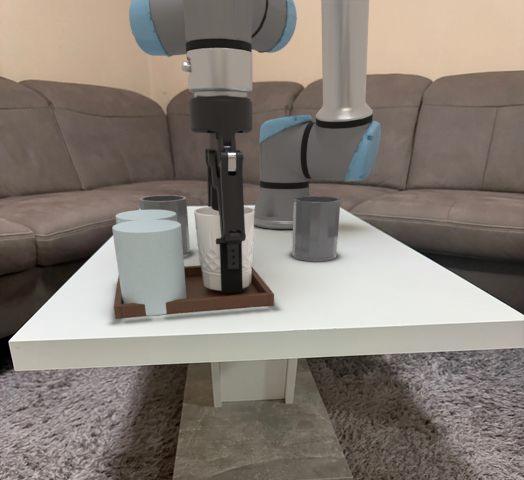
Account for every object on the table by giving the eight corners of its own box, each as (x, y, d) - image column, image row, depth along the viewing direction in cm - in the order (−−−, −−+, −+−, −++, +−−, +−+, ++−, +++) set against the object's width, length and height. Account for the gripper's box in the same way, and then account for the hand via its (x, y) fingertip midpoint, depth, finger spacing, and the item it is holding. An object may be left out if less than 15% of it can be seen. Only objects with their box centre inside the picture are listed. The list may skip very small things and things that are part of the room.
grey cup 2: (326, 249, 88) (330, 195, 83) (343, 260, 81) (347, 201, 76) (287, 251, 86) (288, 196, 82) (300, 262, 79) (302, 203, 75)
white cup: (247, 294, 60) (246, 216, 55) (190, 290, 61) (185, 214, 57) (260, 277, 67) (260, 206, 62) (208, 274, 68) (205, 204, 64)
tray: (248, 275, 72) (248, 262, 71) (274, 309, 59) (274, 293, 58) (121, 284, 68) (119, 270, 67) (116, 323, 55) (113, 306, 54)
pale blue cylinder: (184, 292, 63) (178, 218, 59) (189, 312, 56) (183, 230, 52) (124, 296, 61) (113, 220, 57) (122, 318, 54) (110, 233, 50)
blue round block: (179, 275, 70) (174, 208, 66) (184, 292, 63) (178, 218, 59) (126, 279, 68) (116, 210, 64) (124, 296, 61) (113, 220, 57)
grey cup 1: (187, 248, 88) (184, 194, 84) (192, 258, 81) (188, 200, 77) (145, 250, 87) (139, 195, 82) (146, 261, 80) (139, 202, 75)
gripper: (181, 100, 62) (192, 264, 72) (198, 89, 44) (209, 310, 54) (235, 101, 64) (239, 262, 74) (273, 90, 46) (271, 304, 56)
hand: (226, 282), depth 64 cm, fingers closed on white cup, 8 cm apart
